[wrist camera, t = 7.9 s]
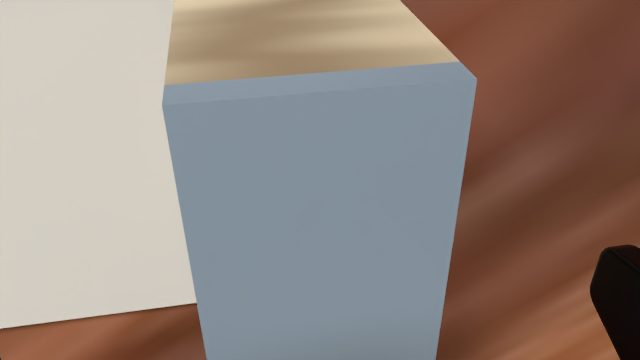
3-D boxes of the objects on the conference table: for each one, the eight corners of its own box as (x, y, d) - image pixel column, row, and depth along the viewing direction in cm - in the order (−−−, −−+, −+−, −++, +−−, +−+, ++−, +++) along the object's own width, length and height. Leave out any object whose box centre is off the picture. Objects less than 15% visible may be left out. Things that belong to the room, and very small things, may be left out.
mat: (388, -312, 12) (396, -317, 12) (364, 268, 21) (368, 280, 20) (-392, -321, 10) (-423, -327, 10) (-55, 322, 19) (-62, 336, 18)
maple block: (347, -53, 14) (477, 78, 8) (344, 158, 17) (432, 378, 11) (179, -45, 14) (162, 105, 7) (209, 172, 17) (216, 412, 10)
